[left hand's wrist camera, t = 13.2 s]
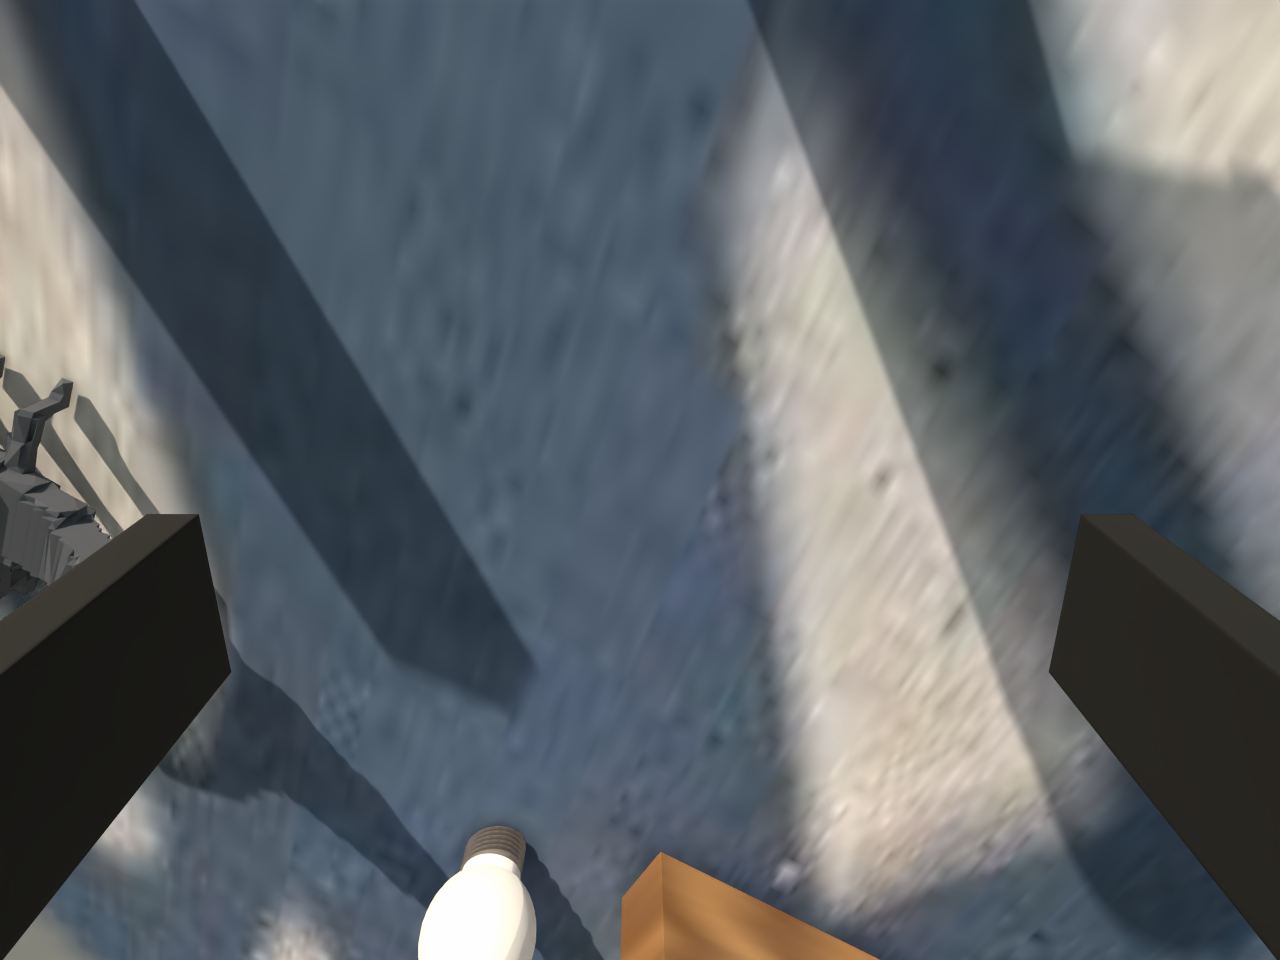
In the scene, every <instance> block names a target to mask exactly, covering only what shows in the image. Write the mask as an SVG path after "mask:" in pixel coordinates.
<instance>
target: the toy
mask: <svg viewBox="0 0 1280 960" xmlns="http://www.w3.org/2000/svg"><path fill="white" fill-rule="evenodd" d="M4 362H5V357H4V356H2V355H0V378H1V377H2V375H3V368H4ZM72 386H73V382H71V381H69V380H66V379H63V378H62V379H61V380H60V381H59V383H58V384H57V385H56V386H55V388H54V389H53V390H52V392H51V393H50V395H49V397H48V398H46V399H44V400H41V401H39V402H37V403H35V404H32V405H30V406H28V407H26V408H22V409H19V410H17V411H15V413H14V421H13V428H12V432H11V433H8V434H7V442H6V451H5V450H3V449H0V599H1V598H2V597H3V596H5V595H6V594H7V593H9V592H10V591H11V590H15V591H18V592H20V593H22V594H24V595H26V594H28V593H30V592H31V591H33V590H35V586H36V580H37V578H40V579H42V580H43V581H44V583H45V585H47V586H49V585H50V584H52V583H53V582H55V581H56V580H57V579H59V578H60V577H61V576H63V575H64V574H66V573H67V572H68V571H70V570H71V569H72V568H74V567H75V566H77V565H78V564H79V563H81V562H82V561H84V560H85V559H86V558H88V557H89V556H90V555H92V554H93V553H95V552H96V551H97V550H99V549H100V548H101V547H103V546H104V545H106V544H107V543H108V542H110V541H111V540H112V539H109V538H110V535H108V534H105V533H102V532H101V531H102V529H101V528H99V525H100V524H98V523H97V522H96V521H95V520H94V517H95V513H96V511H95V510H94V509H92V508H91V507H89V506H88V505H87V504H86V503H84V502H82V501H80V500H78V499H76V498H74V497H72V496H70V495H69V494H67V493H65V492H63V491H62V490H60V486H59V485H58V484H56V483H54V482H53V481H51V480H49V479H47V478H45V477H43V476H42V475H40V474H38V473H36V472H35V466H36V457H37V448H38V446H39V443H40V441H41V436H42V432H43V428H44V424H45V421H46V420H47V419H48V418H50V417H51V416H52V415H53V414H54V413H56V412H59V411H61V410H63V409H65V408H67V407H69V403H70V397H71V392H72ZM18 564H20V565H22V568H20V569H18V570H15V571H12V572H11V569H10V567H12V566H15V565H18Z"/></svg>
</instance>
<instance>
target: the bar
mask: <svg viewBox="0 0 1280 960" xmlns="http://www.w3.org/2000/svg"><path fill="white" fill-rule="evenodd" d="M621 960H879V959H877V958H875V957H873V956H871V955H869V954H867V953H865V952H863V951H861V950H859V949H857V948H855V947H853V946H851V945H849V944H847V943H845V942H843V941H841V940H839V939H837V938H835V937H833V936H831V935H829V934H827V933H825V932H823V931H821V930H819V929H817V928H814V927H812V926H810V925H808V924H806V923H804V922H802V921H800V920H798V919H796V918H794V917H792V916H790V915H788V914H786V913H784V912H782V911H780V910H778V909H776V908H774V907H772V906H770V905H768V904H766V903H764V902H762V901H760V900H758V899H756V898H754V897H752V896H749V895H747V894H745V893H743V892H741V891H739V890H737V889H735V888H733V887H731V886H729V885H727V884H725V883H723V882H721V881H719V880H717V879H715V878H713V877H711V876H709V875H707V874H705V873H703V872H701V871H699V870H697V869H695V868H693V867H691V866H689V865H687V864H684V863H682V862H680V861H678V860H676V859H674V858H672V857H670V856H668V855H666V854H664V853H662V852H660V853H659V854H658V855H657V857H656V858H655V859H654V860H653V861H652V863H651V864H650V865H649V866H648V867H647V869H646V870H645V871H644V872H643V873H642V875H641V876H640V877H639V878H638V879H637V880H636V882H635V883H634V884H633V885H632V886H631V888H630V889H629V890H628V891H627V892H626V894H625V895H624V896H623V897H622V924H621Z"/></svg>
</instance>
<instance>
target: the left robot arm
mask: <svg viewBox="0 0 1280 960" xmlns="http://www.w3.org/2000/svg"><path fill="white" fill-rule="evenodd" d="M230 673H231V669H230V664H229V659H228V654H227V650H226V645H225V640H224V635H223V630H222V625H221V620H220V616H219V611H218V606H217V601H216V596H215V591H214V586H213V582H212V577H211V572H210V567H209V562H208V557H207V552H206V547H205V543H204V538H203V533H202V528H201V523H200V518H199V514H147V515H146V516H144V517H143V518H141V519H140V520H139V521H137V522H136V523H134V524H133V525H132V526H130V527H129V528H128V529H126V530H125V531H123V532H122V533H121V534H119V535H118V536H117V537H115V538H114V539H112V540H111V541H110V542H108V543H107V544H106V545H104V546H103V547H101V548H100V549H99V550H97V551H96V552H95V553H93V554H92V555H90V556H89V557H88V558H86V559H85V560H84V561H82V562H81V563H79V564H78V565H77V566H75V567H74V568H72V569H71V570H70V571H68V572H67V573H66V574H64V575H63V576H61V577H60V578H59V579H57V580H56V581H55V582H53V583H52V584H50V585H49V586H48V587H46V588H45V589H44V590H42V591H41V592H39V593H38V594H37V595H35V596H34V597H33V598H31V599H30V600H28V601H27V602H26V603H24V604H23V605H21V606H20V607H19V608H17V609H16V610H15V611H13V612H12V613H10V614H9V615H8V616H6V617H5V618H4V619H2V620H1V621H0V960H3V959H4V958H5V956H6V955H7V954H8V953H9V951H10V950H11V949H12V948H13V946H14V945H15V944H16V943H17V941H18V940H19V939H20V938H21V936H22V935H23V934H24V932H25V931H26V930H27V929H28V928H29V926H30V925H31V924H32V922H33V921H34V920H35V919H36V917H37V916H38V915H39V914H40V912H41V911H42V910H43V909H44V907H45V906H46V905H47V904H48V902H49V901H50V900H51V899H52V897H53V896H54V895H55V893H56V892H57V891H58V890H59V888H60V887H61V886H62V885H63V883H64V882H65V881H66V880H67V878H68V877H69V876H70V875H71V873H72V872H73V871H74V870H75V868H76V867H77V866H78V864H79V863H80V862H81V861H82V859H83V858H84V857H85V856H86V854H87V853H88V852H89V851H90V849H91V848H92V847H93V846H94V844H95V843H96V842H97V841H98V839H99V838H100V837H101V835H102V834H103V833H104V832H105V830H106V829H107V828H108V827H109V825H110V824H111V823H112V822H113V820H114V819H115V818H116V817H117V815H118V814H119V813H120V812H121V810H122V809H123V808H124V806H125V805H126V804H127V803H128V801H129V800H130V799H131V798H132V796H133V795H134V794H135V793H136V791H137V790H138V789H139V788H140V786H141V785H142V784H143V783H144V781H145V780H146V779H147V777H148V776H149V775H150V774H151V772H152V771H153V770H154V769H155V767H156V766H157V765H158V764H159V762H160V761H161V760H162V759H163V757H164V756H165V755H166V754H167V752H168V751H169V750H170V749H171V747H172V746H173V745H174V743H175V742H176V741H177V740H178V738H179V737H180V736H181V735H182V733H183V732H184V731H185V730H186V728H187V727H188V726H189V725H190V723H191V722H192V721H193V720H194V718H195V717H196V716H197V714H198V713H199V712H200V711H201V709H202V708H203V707H204V706H205V704H206V703H207V702H208V701H209V699H210V698H211V697H212V696H213V694H214V693H215V692H216V691H217V689H218V688H219V687H220V685H221V684H222V683H223V682H224V680H225V679H226V678H227V677H228V675H229V674H230ZM1049 673H1050V674H1051V675H1052V677H1053V678H1054V679H1055V680H1056V682H1057V683H1058V684H1059V685H1060V687H1061V688H1062V689H1063V691H1064V692H1065V693H1066V694H1067V696H1068V697H1069V698H1070V699H1071V701H1072V702H1073V703H1074V704H1075V706H1076V707H1077V708H1078V709H1079V711H1080V712H1081V713H1082V714H1083V716H1084V717H1085V718H1086V720H1087V721H1088V722H1089V723H1090V725H1091V726H1092V727H1093V728H1094V730H1095V731H1096V732H1097V733H1098V735H1099V736H1100V737H1101V738H1102V740H1103V741H1104V742H1105V743H1106V745H1107V746H1108V747H1109V749H1110V750H1111V751H1112V752H1113V754H1114V755H1115V756H1116V757H1117V759H1118V760H1119V761H1120V762H1121V764H1122V765H1123V766H1124V767H1125V769H1126V770H1127V771H1128V772H1129V774H1130V775H1131V776H1132V777H1133V779H1134V780H1135V781H1136V783H1137V784H1138V785H1139V786H1140V788H1141V789H1142V790H1143V791H1144V793H1145V794H1146V795H1147V796H1148V798H1149V799H1150V800H1151V801H1152V803H1153V804H1154V805H1155V806H1156V808H1157V809H1158V810H1159V812H1160V813H1161V814H1162V815H1163V817H1164V818H1165V819H1166V820H1167V822H1168V823H1169V824H1170V825H1171V827H1172V828H1173V829H1174V830H1175V832H1176V833H1177V834H1178V835H1179V837H1180V838H1181V839H1182V841H1183V842H1184V843H1185V844H1186V846H1187V847H1188V848H1189V849H1190V851H1191V852H1192V853H1193V854H1194V856H1195V857H1196V858H1197V859H1198V861H1199V862H1200V863H1201V864H1202V866H1203V867H1204V868H1205V870H1206V871H1207V872H1208V873H1209V875H1210V876H1211V877H1212V878H1213V880H1214V881H1215V882H1216V883H1217V885H1218V886H1219V887H1220V888H1221V890H1222V891H1223V892H1224V893H1225V895H1226V896H1227V897H1228V899H1229V900H1230V901H1231V902H1232V904H1233V905H1234V906H1235V907H1236V909H1237V910H1238V911H1239V912H1240V914H1241V915H1242V916H1243V917H1244V919H1245V920H1246V921H1247V922H1248V924H1249V925H1250V926H1251V928H1252V929H1253V930H1254V931H1255V933H1256V934H1257V935H1258V936H1259V938H1260V939H1261V940H1262V941H1263V943H1264V944H1265V945H1266V946H1267V948H1268V949H1269V950H1270V951H1271V953H1272V954H1273V955H1274V957H1275V958H1276V959H1277V960H1280V621H1279V620H1278V619H1276V618H1275V617H1274V616H1272V615H1271V614H1270V613H1268V612H1267V611H1265V610H1264V609H1263V608H1261V607H1260V606H1259V605H1257V604H1256V603H1254V602H1253V601H1252V600H1250V599H1249V598H1247V597H1246V596H1245V595H1243V594H1242V593H1241V592H1239V591H1238V590H1236V589H1235V588H1234V587H1232V586H1231V585H1230V584H1228V583H1227V582H1225V581H1224V580H1223V579H1221V578H1220V577H1219V576H1217V575H1216V574H1214V573H1213V572H1212V571H1210V570H1209V569H1208V568H1206V567H1205V566H1203V565H1202V564H1201V563H1199V562H1198V561H1196V560H1195V559H1194V558H1192V557H1191V556H1190V555H1188V554H1187V553H1185V552H1184V551H1183V550H1181V549H1180V548H1179V547H1177V546H1176V545H1174V544H1173V543H1172V542H1170V541H1169V540H1168V539H1166V538H1165V537H1163V536H1162V535H1161V534H1159V533H1158V532H1157V531H1155V530H1154V529H1152V528H1151V527H1150V526H1148V525H1147V524H1146V523H1144V522H1143V521H1141V520H1140V519H1139V518H1137V517H1136V516H1134V515H1133V514H1081V518H1080V523H1079V528H1078V533H1077V538H1076V543H1075V547H1074V552H1073V557H1072V562H1071V567H1070V572H1069V577H1068V581H1067V586H1066V591H1065V596H1064V601H1063V606H1062V611H1061V616H1060V620H1059V625H1058V630H1057V635H1056V640H1055V645H1054V650H1053V654H1052V659H1051V664H1050V669H1049Z"/></svg>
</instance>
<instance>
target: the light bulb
mask: <svg viewBox="0 0 1280 960" xmlns="http://www.w3.org/2000/svg"><path fill="white" fill-rule="evenodd" d="M525 851H526V843H525V840H524V838H523V837H522V835H521V834H520V833H518V832H517V831H516V830H514V829H511V828H508V827H504V826H493V827H488V828H485V829H482V830H480V831H478V832H477V833H476V834H474V835H473V836H472V837H471V838H470V840H469V841H468V843H467V846H466V850H465V853H464V857H463V861H462V865H461V869H460V872H459V873H457V874H456V875H454V876H453V877H452V878H450V879H449V880H448V881H447V882H446V883H445V884H444V885H443V887H442V888H441V889H440V890H439V891H438V893H437V894H436V895H435V897H434V899H433V900H432V902H431V904H430V906H429V908H428V910H427V912H426V915H425V918H424V920H423V923H422V928H421V933H420V939H419V946H418V958H419V960H532V957H533V952H534V948H535V943H536V917H535V910H534V906H533V903H532V900H531V897H530V895H529V893H528V891H527V889H526V887H525V886H524V885H523V883H522V882H521V880H520V879H521V875H522V869H523V864H524V856H525Z"/></svg>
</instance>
